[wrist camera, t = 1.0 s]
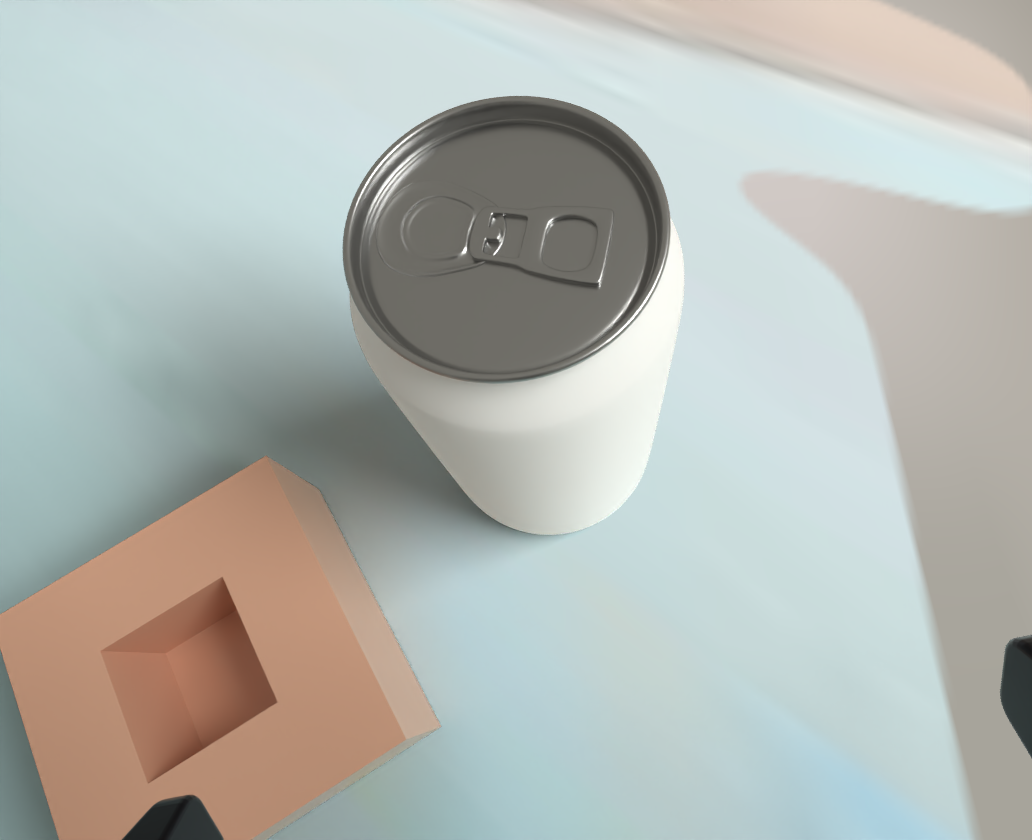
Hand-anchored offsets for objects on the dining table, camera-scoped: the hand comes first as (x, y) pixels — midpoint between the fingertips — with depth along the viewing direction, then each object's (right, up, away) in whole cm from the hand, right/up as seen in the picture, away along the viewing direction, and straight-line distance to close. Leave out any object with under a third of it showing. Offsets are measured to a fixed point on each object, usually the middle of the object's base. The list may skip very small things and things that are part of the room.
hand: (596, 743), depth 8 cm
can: (0, +3, +16) cm, 16 cm away
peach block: (-9, -4, +14) cm, 17 cm away
